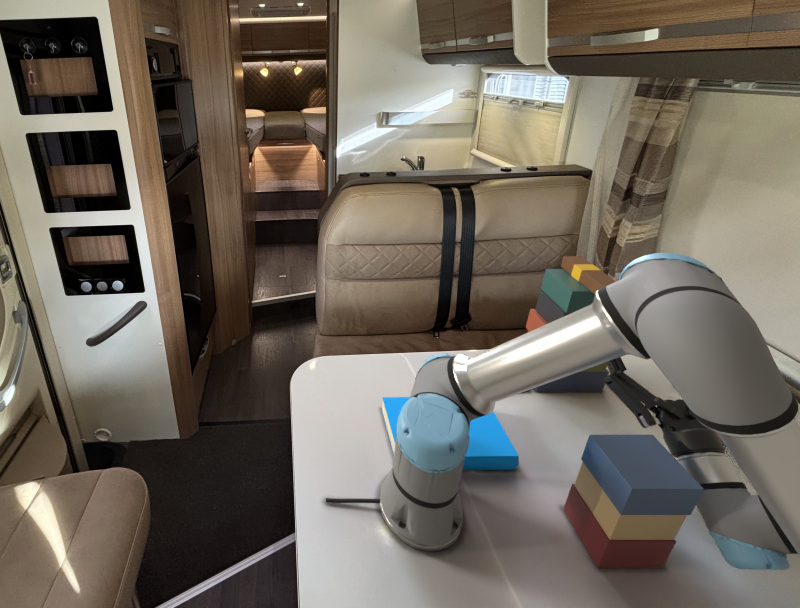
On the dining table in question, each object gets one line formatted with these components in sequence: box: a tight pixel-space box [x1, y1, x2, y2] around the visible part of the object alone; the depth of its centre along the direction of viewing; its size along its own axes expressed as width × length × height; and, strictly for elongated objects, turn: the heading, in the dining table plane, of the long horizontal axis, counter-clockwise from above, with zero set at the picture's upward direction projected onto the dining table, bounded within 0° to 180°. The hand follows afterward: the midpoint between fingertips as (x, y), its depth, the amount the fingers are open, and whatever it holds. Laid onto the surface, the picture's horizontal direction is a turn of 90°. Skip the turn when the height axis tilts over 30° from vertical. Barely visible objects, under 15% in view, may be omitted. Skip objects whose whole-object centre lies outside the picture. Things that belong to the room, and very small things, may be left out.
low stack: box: [562, 434, 704, 569], centre depth 73 cm, size 11×10×20 cm
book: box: [381, 396, 520, 471], centre depth 96 cm, size 17×4×25 cm
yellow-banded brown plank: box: [560, 255, 617, 294], centre depth 99 cm, size 20×5×3 cm, turn 0°
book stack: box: [525, 268, 610, 393], centre depth 109 cm, size 11×17×30 cm, turn 90°
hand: (638, 340), depth 87 cm, fingers open, 13 cm apart
